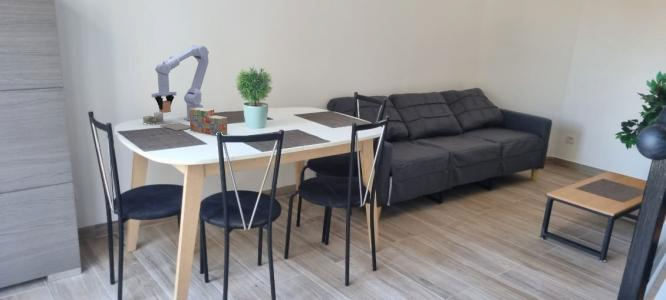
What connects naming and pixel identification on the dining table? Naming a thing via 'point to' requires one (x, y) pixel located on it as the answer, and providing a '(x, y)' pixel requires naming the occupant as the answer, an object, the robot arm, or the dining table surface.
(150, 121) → the sage block
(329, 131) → the dining table surface
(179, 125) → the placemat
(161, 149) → the dining table surface
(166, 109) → the terracotta block
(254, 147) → the dining table surface
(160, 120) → the grey cylinder
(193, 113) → the stack of blocks
